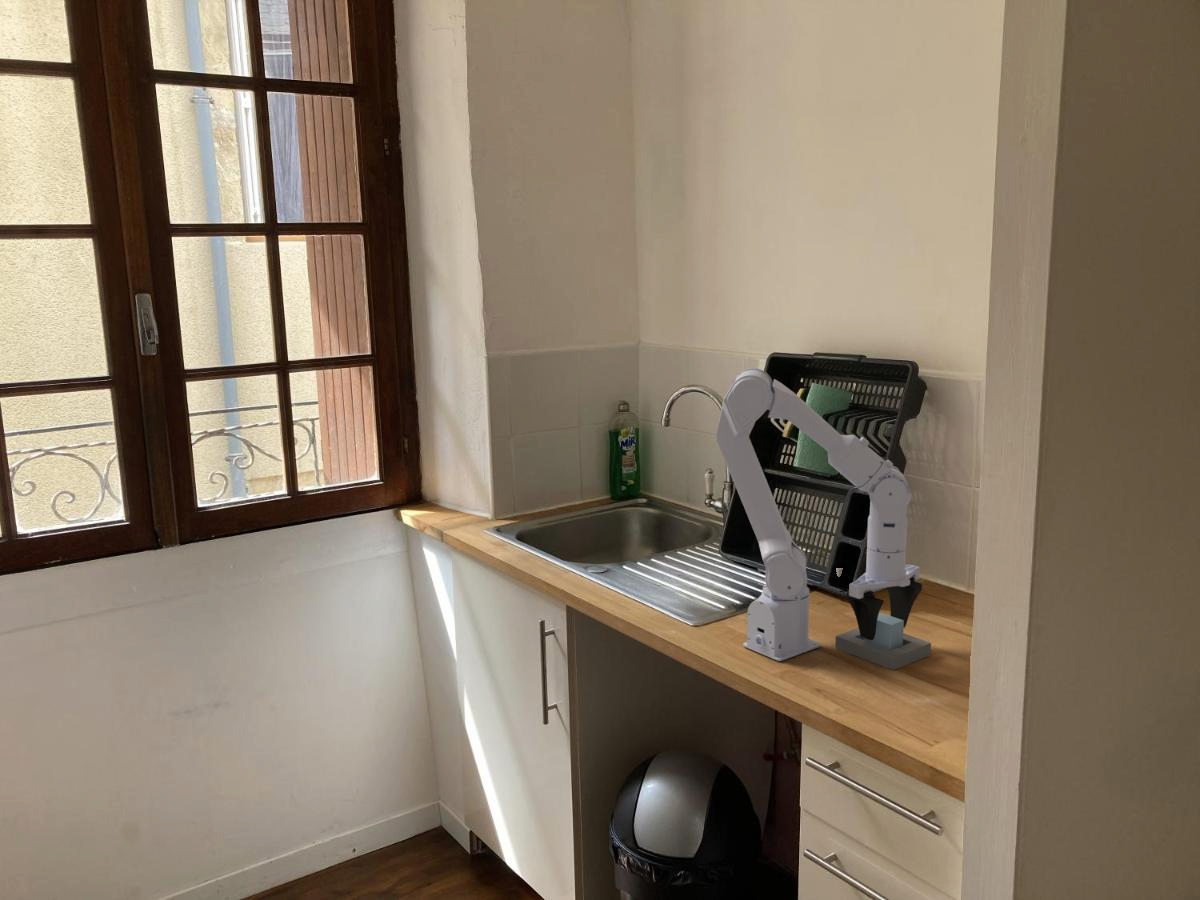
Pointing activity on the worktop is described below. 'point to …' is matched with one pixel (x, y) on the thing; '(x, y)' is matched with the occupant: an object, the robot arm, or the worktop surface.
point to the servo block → (888, 632)
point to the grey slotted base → (883, 650)
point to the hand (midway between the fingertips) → (883, 632)
